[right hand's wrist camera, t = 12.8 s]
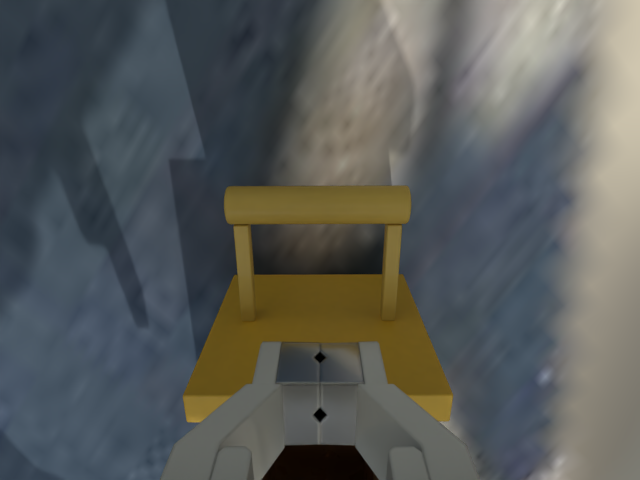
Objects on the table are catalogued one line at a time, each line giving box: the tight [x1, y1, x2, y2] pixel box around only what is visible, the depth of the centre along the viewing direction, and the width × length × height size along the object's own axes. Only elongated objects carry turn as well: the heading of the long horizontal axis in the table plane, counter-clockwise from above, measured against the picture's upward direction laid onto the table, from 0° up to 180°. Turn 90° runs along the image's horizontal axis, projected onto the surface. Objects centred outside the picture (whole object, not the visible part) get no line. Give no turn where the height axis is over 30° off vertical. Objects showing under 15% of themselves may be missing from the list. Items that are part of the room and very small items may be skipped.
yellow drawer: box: [183, 186, 453, 480], centre depth 21 cm, size 26×9×9 cm, turn 0°
